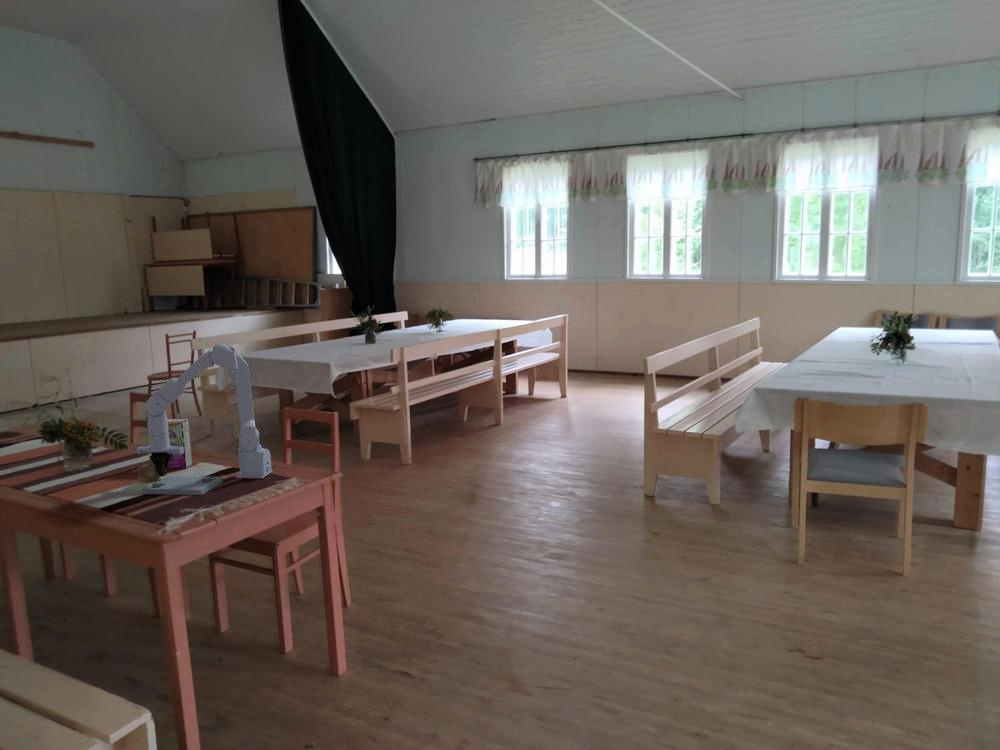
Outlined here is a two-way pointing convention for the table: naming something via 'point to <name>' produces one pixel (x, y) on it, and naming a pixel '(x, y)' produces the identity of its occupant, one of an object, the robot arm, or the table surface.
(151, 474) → the walnut block
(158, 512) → the table surface
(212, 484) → the board
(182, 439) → the candy bar box
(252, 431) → the robot arm
